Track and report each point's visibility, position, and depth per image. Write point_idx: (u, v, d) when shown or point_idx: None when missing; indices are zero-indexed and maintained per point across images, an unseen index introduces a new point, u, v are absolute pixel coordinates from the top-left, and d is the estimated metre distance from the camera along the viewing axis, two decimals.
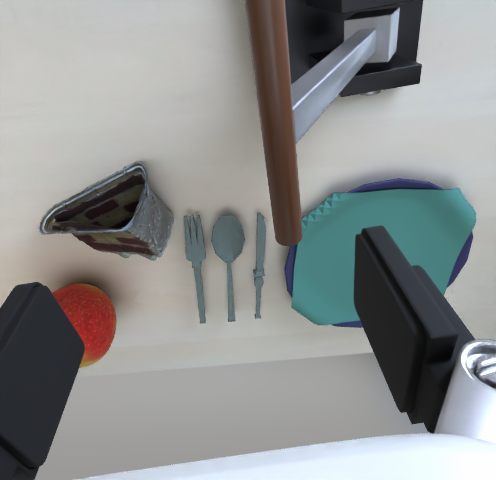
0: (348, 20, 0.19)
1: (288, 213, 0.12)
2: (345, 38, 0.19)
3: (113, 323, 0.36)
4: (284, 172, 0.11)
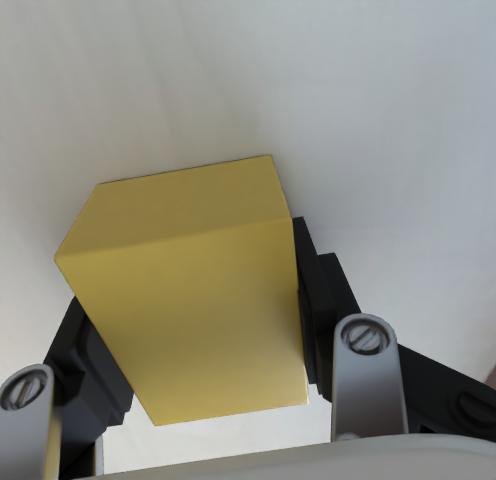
0: None
1: None
2: None
3: None
4: None
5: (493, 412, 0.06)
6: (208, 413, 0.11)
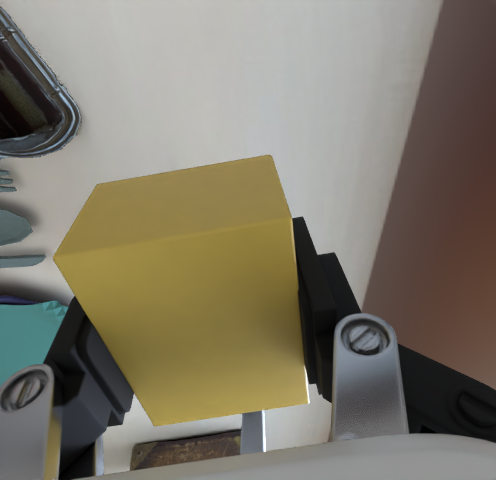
0: None
1: None
2: None
3: None
4: None
5: (493, 412, 0.06)
6: (208, 413, 0.11)
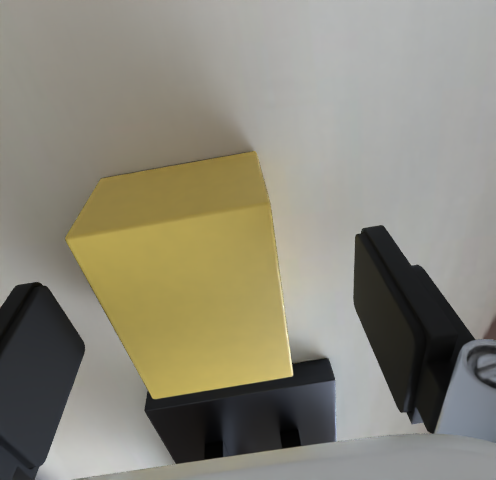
0: None
1: None
2: None
3: None
4: None
5: None
6: (202, 386, 0.12)
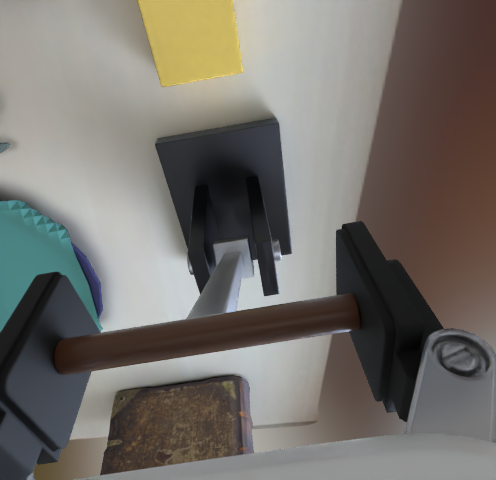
0: (247, 242, 0.22)
1: (107, 364, 0.09)
2: (233, 242, 0.22)
3: None
4: (161, 356, 0.09)
5: None
6: (190, 76, 0.21)
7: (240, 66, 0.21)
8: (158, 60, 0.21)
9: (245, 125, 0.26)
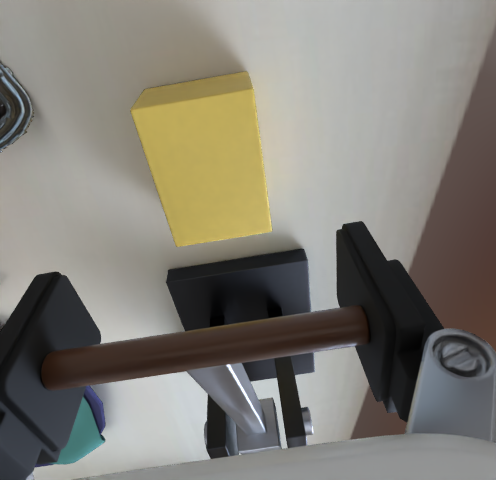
0: (272, 402, 0.20)
1: (93, 368, 0.09)
2: None
3: None
4: (152, 360, 0.09)
5: None
6: (210, 237, 0.18)
7: (269, 226, 0.18)
8: (173, 223, 0.17)
9: (269, 259, 0.23)
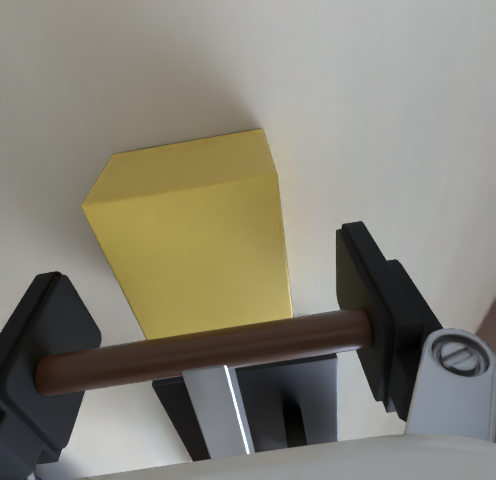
0: None
1: (88, 363, 0.08)
2: None
3: None
4: (149, 354, 0.08)
5: None
6: None
7: None
8: None
9: None
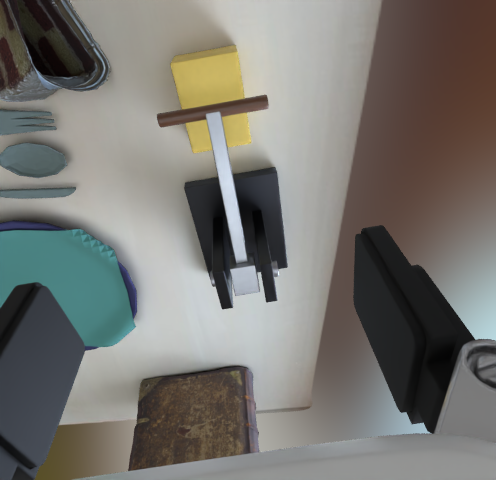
0: (253, 253, 0.32)
1: (175, 112, 0.26)
2: None
3: None
4: (195, 108, 0.26)
5: None
6: None
7: (249, 139, 0.30)
8: (191, 136, 0.29)
9: (252, 173, 0.35)
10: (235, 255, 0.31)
